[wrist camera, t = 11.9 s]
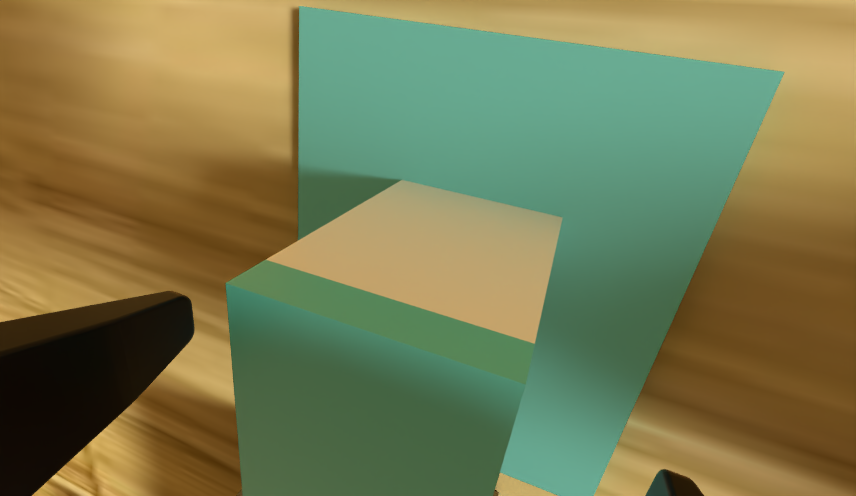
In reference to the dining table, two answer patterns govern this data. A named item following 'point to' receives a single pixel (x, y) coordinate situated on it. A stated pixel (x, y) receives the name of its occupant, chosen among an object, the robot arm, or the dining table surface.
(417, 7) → the dining table surface
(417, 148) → the mat
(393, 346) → the fuse block
